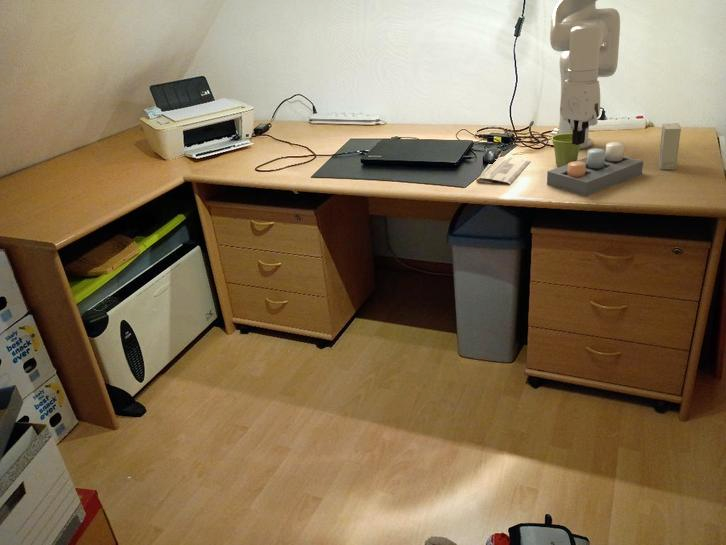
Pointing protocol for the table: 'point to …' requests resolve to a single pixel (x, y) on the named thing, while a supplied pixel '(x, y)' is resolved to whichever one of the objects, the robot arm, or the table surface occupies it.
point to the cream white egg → (614, 151)
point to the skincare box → (669, 146)
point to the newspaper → (503, 170)
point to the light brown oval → (576, 169)
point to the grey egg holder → (595, 176)
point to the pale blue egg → (596, 158)
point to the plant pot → (565, 149)
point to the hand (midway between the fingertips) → (578, 143)
